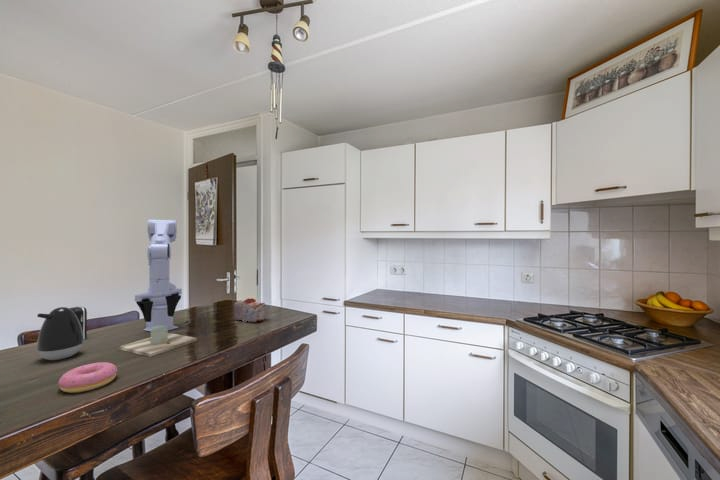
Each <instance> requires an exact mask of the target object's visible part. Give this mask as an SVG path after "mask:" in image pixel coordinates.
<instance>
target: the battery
mask: <svg viewBox="0 0 720 480" xmlns="http://www.w3.org/2000/svg"><path fill="white" fill-rule="evenodd" d="M68 308H69V309H71V310H72V311H73V312H74V313H75V315H76V316H77V318H78V320H79V322H80V324H81V327H82V331H83V337H84V340H85V339H87V338H88V335H87V333H88V332H87V331H88V330H87V328H88V326H87V325H88V315H87V314H88V312H87V308H86V307H84V306H75V307H68Z"/></svg>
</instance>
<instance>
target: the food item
mask: <svg viewBox="0 0 720 480" xmlns="http://www.w3.org/2000/svg"><path fill="white" fill-rule="evenodd" d="M265 307H266V302H260V301H257V300H256V298H249V297H248V298H246V299H244V300H238V301H236V302H234V304H233V320H234V321H239V320H242V321H245V322H244V323H254V322H255V323H258V322H257V321H259V322H261V321H260V320H262V321H265V309H266V308H265ZM242 321H241V322H242ZM247 321H248V322H247Z"/></svg>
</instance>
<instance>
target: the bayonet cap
mask: <svg viewBox="0 0 720 480" xmlns="http://www.w3.org/2000/svg"><path fill="white" fill-rule="evenodd" d="M168 331H169V330H168V326H167V325H160V326H154V327H152V328H151V331H150V337H151V344H162V343H165V342H167V341H168V333H169V332H168Z"/></svg>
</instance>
